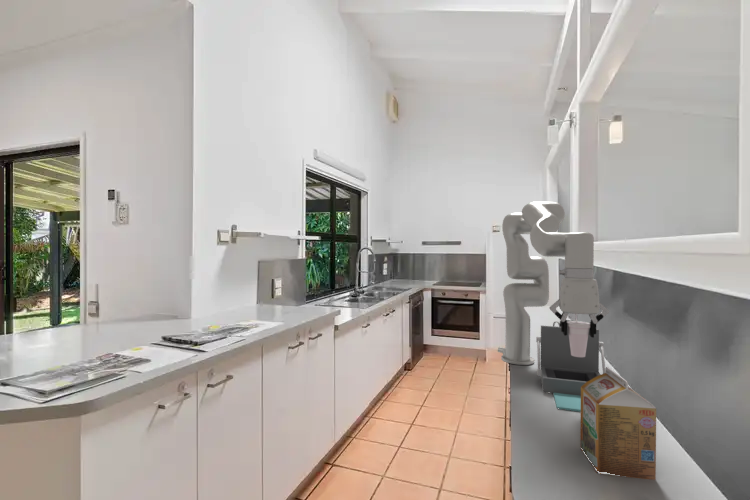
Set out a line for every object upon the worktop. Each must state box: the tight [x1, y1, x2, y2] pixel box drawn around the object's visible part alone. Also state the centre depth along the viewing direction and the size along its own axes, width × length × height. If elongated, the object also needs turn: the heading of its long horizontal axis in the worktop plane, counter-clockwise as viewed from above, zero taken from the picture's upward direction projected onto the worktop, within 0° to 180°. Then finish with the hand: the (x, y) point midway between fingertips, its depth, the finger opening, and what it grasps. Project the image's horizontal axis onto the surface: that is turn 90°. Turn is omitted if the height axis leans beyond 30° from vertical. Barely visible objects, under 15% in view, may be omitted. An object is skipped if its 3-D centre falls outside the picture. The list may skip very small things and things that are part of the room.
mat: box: [553, 393, 581, 413], centre depth 117 cm, size 12×12×1 cm
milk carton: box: [579, 366, 657, 481], centre depth 85 cm, size 11×11×19 cm
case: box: [536, 325, 606, 396], centre depth 131 cm, size 21×15×18 cm
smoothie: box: [567, 314, 591, 357], centre depth 117 cm, size 6×6×14 cm
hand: (578, 335), depth 117 cm, fingers closed on smoothie, 6 cm apart
